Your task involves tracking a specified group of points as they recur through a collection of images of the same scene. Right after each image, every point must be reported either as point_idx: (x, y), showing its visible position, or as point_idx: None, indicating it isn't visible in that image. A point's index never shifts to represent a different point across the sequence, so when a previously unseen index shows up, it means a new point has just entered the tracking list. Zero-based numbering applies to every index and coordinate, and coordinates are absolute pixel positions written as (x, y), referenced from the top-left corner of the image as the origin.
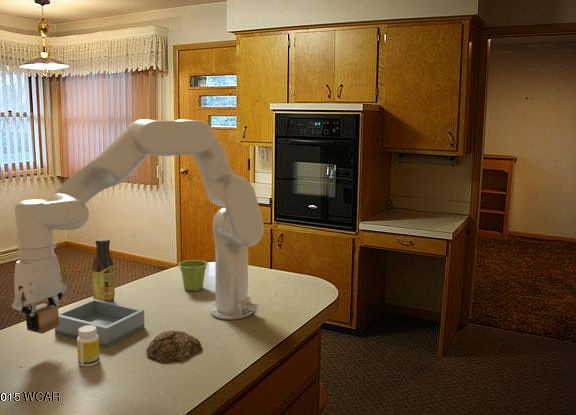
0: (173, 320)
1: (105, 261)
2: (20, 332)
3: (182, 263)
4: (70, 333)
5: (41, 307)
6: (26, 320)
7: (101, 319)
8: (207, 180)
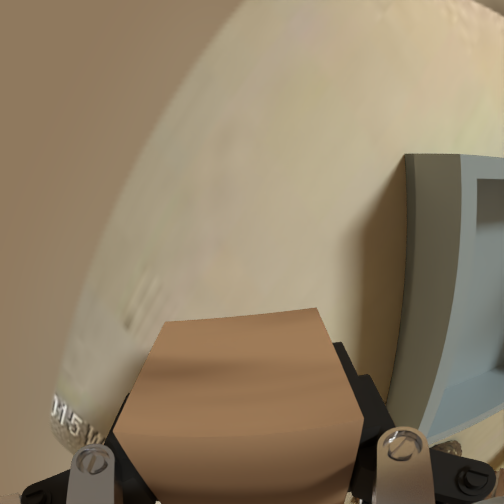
0: None
1: None
2: (318, 14)
3: None
4: (415, 256)
5: (260, 483)
6: (114, 425)
7: None
8: None
